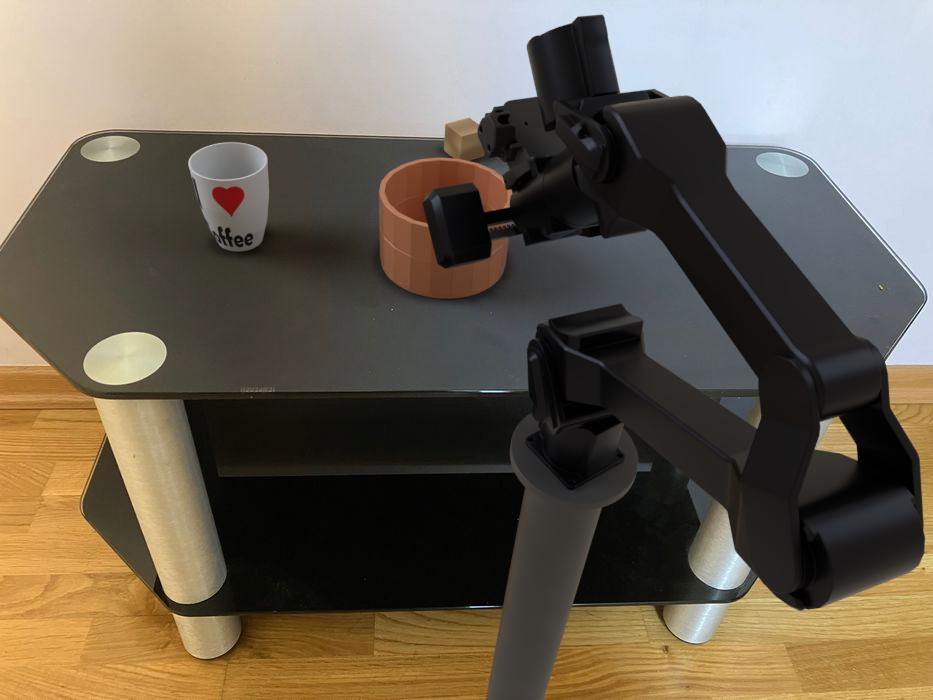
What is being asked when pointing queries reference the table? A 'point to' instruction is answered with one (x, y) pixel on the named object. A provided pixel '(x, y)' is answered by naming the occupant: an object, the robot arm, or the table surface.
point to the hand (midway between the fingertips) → (500, 231)
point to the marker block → (463, 140)
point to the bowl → (408, 231)
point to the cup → (232, 192)
